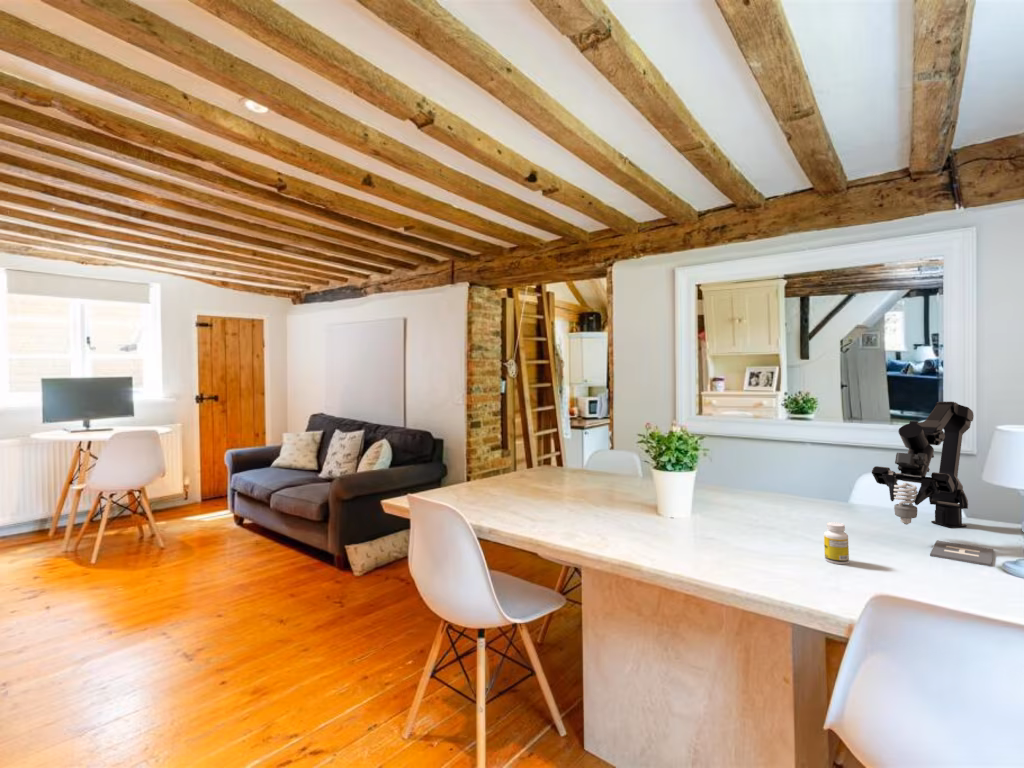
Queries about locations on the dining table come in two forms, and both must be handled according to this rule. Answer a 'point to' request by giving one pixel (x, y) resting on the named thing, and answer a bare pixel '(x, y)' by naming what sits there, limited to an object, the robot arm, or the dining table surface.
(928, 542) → the dining table surface
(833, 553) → the supplement bottle
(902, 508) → the light bulb
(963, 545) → the board
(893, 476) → the robot arm
